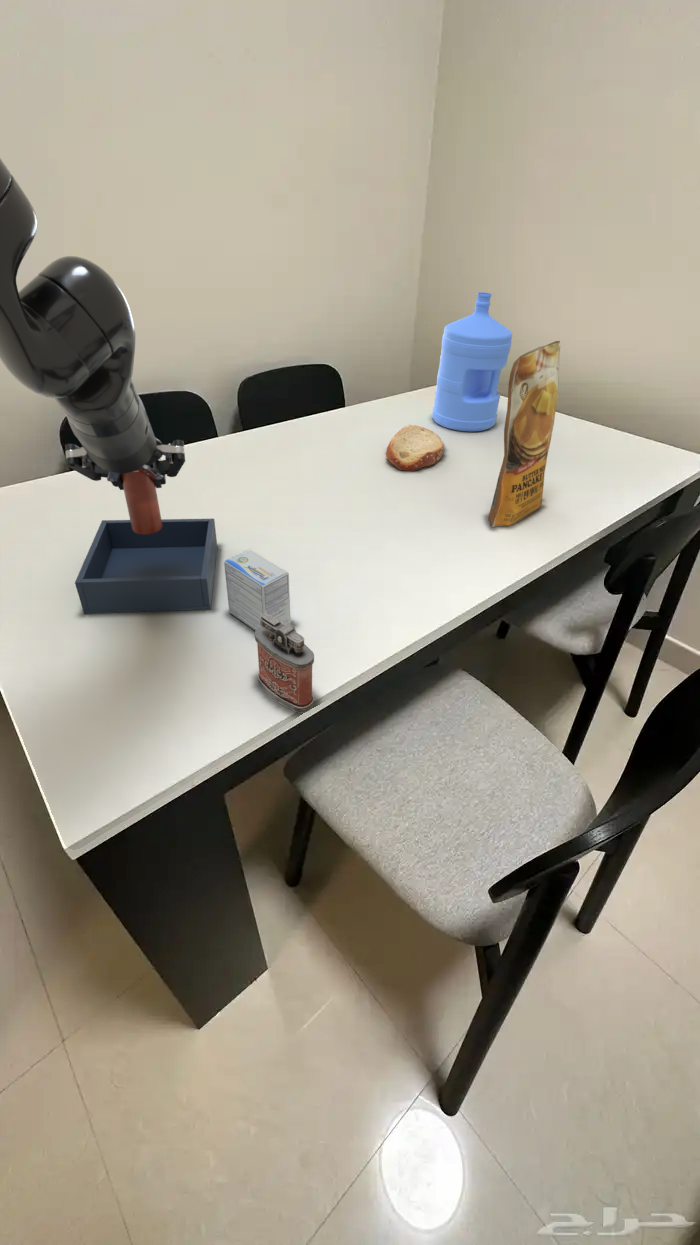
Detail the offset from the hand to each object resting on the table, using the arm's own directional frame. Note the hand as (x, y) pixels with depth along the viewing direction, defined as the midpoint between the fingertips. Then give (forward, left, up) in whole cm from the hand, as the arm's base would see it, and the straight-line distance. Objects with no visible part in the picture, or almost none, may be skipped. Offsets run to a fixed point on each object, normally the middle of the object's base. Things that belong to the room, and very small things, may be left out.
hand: (140, 481), depth 78 cm
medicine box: (+15, -13, -14) cm, 25 cm away
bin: (0, -2, -14) cm, 14 cm away
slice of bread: (+48, +45, -14) cm, 68 cm away
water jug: (+65, +64, -14) cm, 92 cm away
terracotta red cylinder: (0, -2, -6) cm, 6 cm away
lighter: (+18, -27, -14) cm, 36 cm away
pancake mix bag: (+61, +17, -14) cm, 65 cm away
